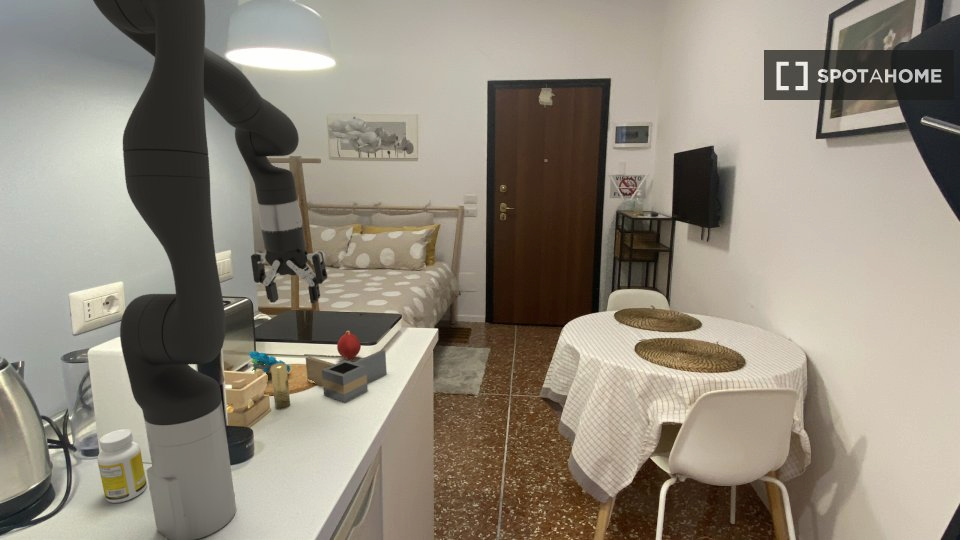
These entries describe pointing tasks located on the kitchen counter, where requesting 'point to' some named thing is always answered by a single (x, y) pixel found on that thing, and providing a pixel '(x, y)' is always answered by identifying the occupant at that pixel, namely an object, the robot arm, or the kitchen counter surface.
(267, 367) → the blue fuzzy lump
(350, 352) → the onion
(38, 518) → the kitchen counter surface
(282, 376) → the hinge pin
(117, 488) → the supplement bottle
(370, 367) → the hinge
